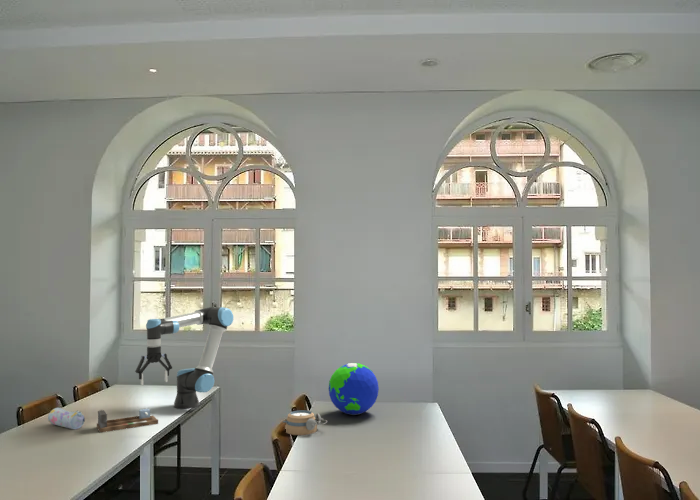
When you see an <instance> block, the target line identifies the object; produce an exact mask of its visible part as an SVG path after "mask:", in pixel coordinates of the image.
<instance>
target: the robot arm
mask: <svg viewBox="0 0 700 500" xmlns="http://www.w3.org/2000/svg"><path fill="white" fill-rule="evenodd" d="M233 322H234V313H233V312H232V310H231V309H230V308H228V307H224V306H223V307H222V306H221V307H219V306H218V307H217V306H210V307H204V308H200V309H197V310H195V311H194V312H190V313H184V314H179V315H175V316H174V315H173V316H169V317H164V318H150V319H148V320H147V321H146V325H145V327H146V346H147V347H146V355H141V356H140V361H139V362H138V364H137V367H136V369H135V371H134V372H135V373H136V374H138V379H139V380H140V386H144V371H145V370H146V369H147V367H148V366H149V365H150V364H154V363H159V364H160V365H161V366H162V367H163V368H164V369H165V370H164V382H165V383H168V381H169V380H168V377H169V376H170V370H172V369H173V366H172V364H171V362H170V361H169V359H168V355H167V353H162V347H161V344H162V338H161V337H162V336H163V335H171V334H172V335H174V334H176V333H178V332H179V330H180V328H184V327H189V326H192V325H197V326H201V325H208V327H209V330H208V335H207V337H206V341H205V344H204V347H203V350H202V353H201V356H200V360H199V363H198V365H197V366H196V367H195V368H194V367H191V368H184V369H183V368H182V369H179V370H177V372H176V396H175V400H174V402H173V407H174V408H175V409H181V410H183V409H191V408H196V407H198V406H199V405H200V403H199V402H200V400H199V398H198V394H197V393H208V392H210V391H211V390H212V388H213V387H214V386H215V377H214V370H213V366H214V363H215V361H216V357H217V353H218V350H219V347H220V343H221V341H222V340H221V339H222V338H223V337H222V336H223V333H224V332H226V331H227V329H228V327H230V326H231V325H232V324H233ZM162 358H163V359H164V361H165V363H166V364H165V363H164V362H163V361H162ZM145 360H146V361H145ZM143 363H144V364H143Z"/></svg>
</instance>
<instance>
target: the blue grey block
mask: <svg viewBox="0 0 700 500" xmlns="http://www.w3.org/2000/svg"><path fill="white" fill-rule="evenodd" d="M138 416H139V419H142V418H149V417H150V416H151V409H149V408H143V409H139V410H138Z"/></svg>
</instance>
